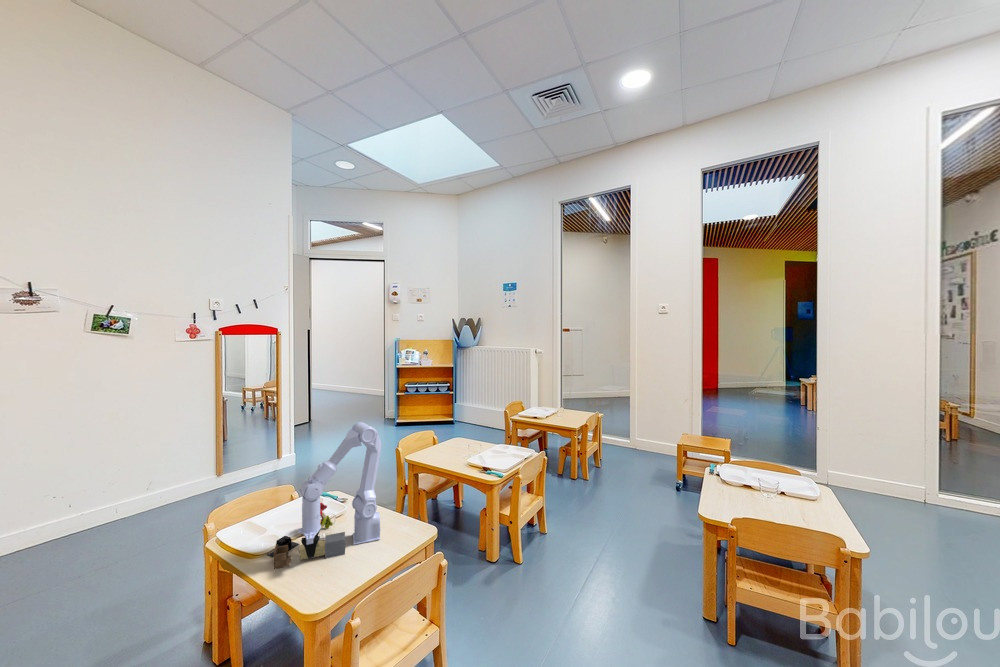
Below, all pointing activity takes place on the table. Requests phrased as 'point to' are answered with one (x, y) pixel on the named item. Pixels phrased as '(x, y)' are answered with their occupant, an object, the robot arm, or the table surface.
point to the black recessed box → (284, 541)
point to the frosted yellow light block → (318, 552)
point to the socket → (281, 557)
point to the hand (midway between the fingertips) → (311, 553)
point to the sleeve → (335, 545)
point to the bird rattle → (324, 517)
